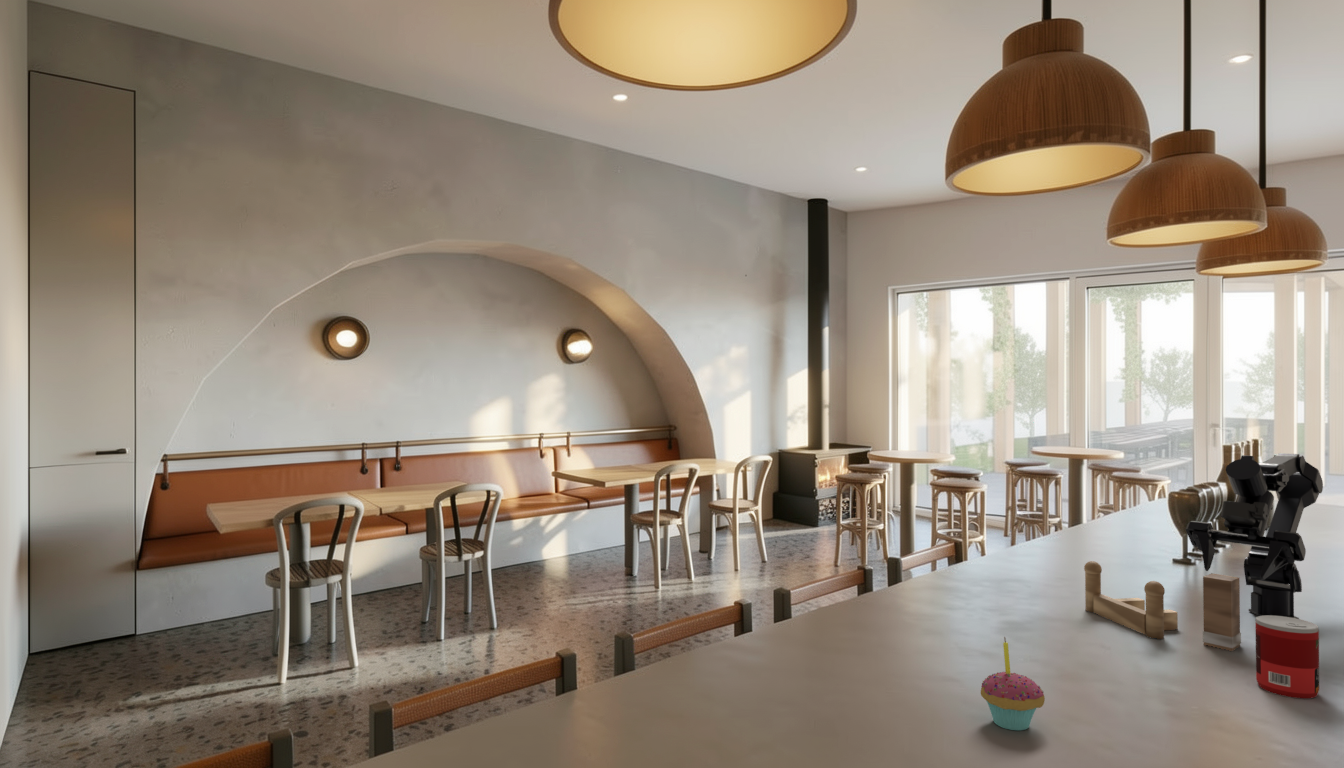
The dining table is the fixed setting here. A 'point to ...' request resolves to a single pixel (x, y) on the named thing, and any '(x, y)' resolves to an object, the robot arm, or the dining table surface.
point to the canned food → (1287, 656)
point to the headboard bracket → (1130, 606)
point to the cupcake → (1011, 697)
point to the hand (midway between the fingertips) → (1233, 573)
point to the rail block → (1221, 611)
